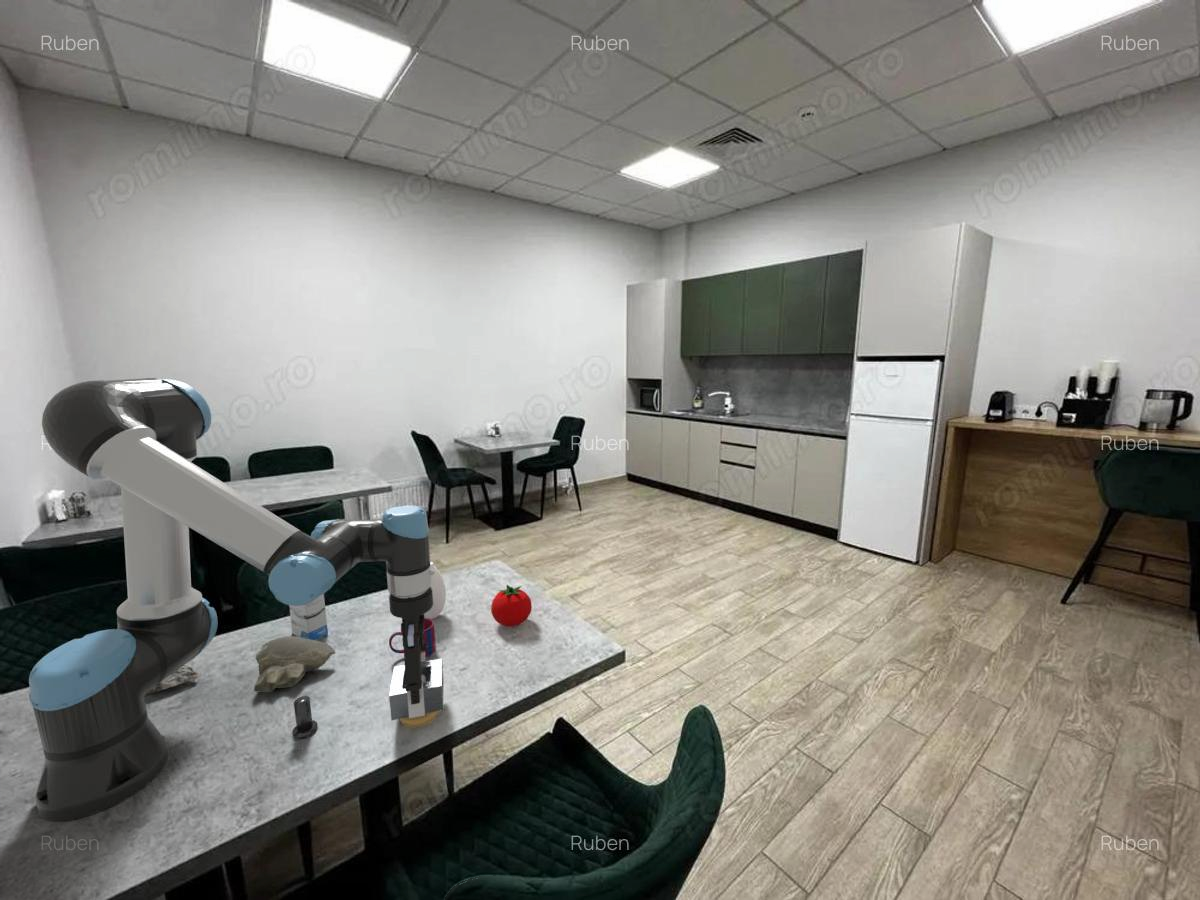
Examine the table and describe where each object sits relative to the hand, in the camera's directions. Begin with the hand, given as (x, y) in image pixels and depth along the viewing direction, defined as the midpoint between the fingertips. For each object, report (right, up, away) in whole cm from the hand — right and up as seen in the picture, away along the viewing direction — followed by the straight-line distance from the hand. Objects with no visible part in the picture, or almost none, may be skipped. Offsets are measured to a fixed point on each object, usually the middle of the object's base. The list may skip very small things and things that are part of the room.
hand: (418, 698), depth 94 cm
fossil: (-31, -2, +12) cm, 33 cm away
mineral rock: (-58, -2, +10) cm, 59 cm away
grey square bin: (0, 0, 0) cm, 0 cm away
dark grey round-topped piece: (-20, -4, -4) cm, 20 cm away
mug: (-9, 0, +21) cm, 22 cm away
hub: (0, -3, +1) cm, 3 cm away
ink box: (-38, +1, +29) cm, 48 cm away
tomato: (+12, +2, +34) cm, 36 cm away
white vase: (-10, +3, +37) cm, 38 cm away
